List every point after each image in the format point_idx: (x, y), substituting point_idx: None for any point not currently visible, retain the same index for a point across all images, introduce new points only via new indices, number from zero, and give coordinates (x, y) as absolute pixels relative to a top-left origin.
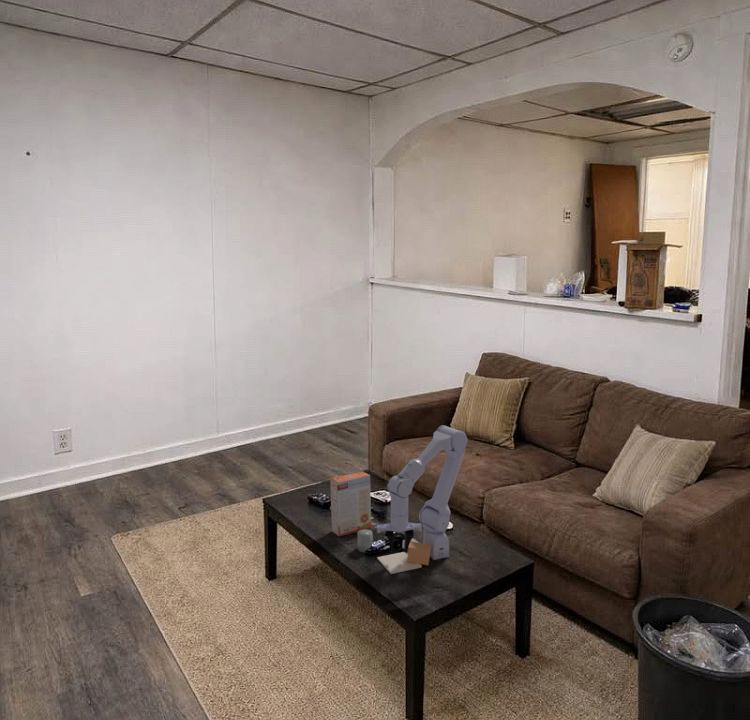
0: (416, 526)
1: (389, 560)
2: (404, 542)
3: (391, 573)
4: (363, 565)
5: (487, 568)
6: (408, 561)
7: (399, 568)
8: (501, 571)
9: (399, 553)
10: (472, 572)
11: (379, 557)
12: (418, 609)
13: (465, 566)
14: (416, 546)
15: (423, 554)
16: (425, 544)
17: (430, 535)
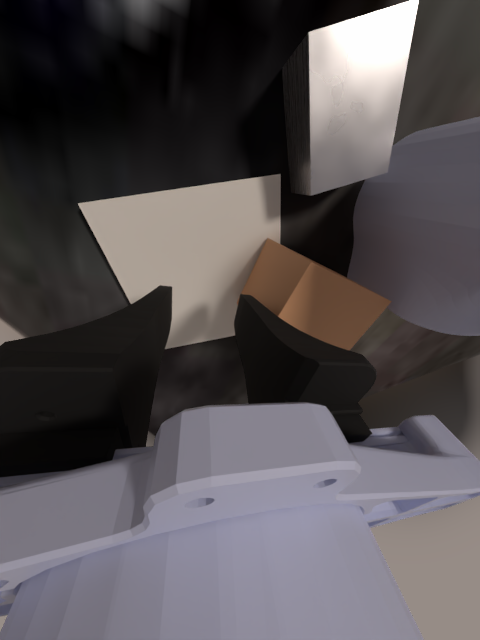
0: (395, 520)
1: (157, 261)
2: (306, 85)
3: None
4: (4, 260)
5: (426, 350)
6: None
7: (193, 332)
8: (436, 363)
9: (228, 192)
10: (382, 361)
11: (94, 209)
12: None
13: (394, 335)
14: (306, 330)
15: None
16: (369, 299)
17: (460, 292)
